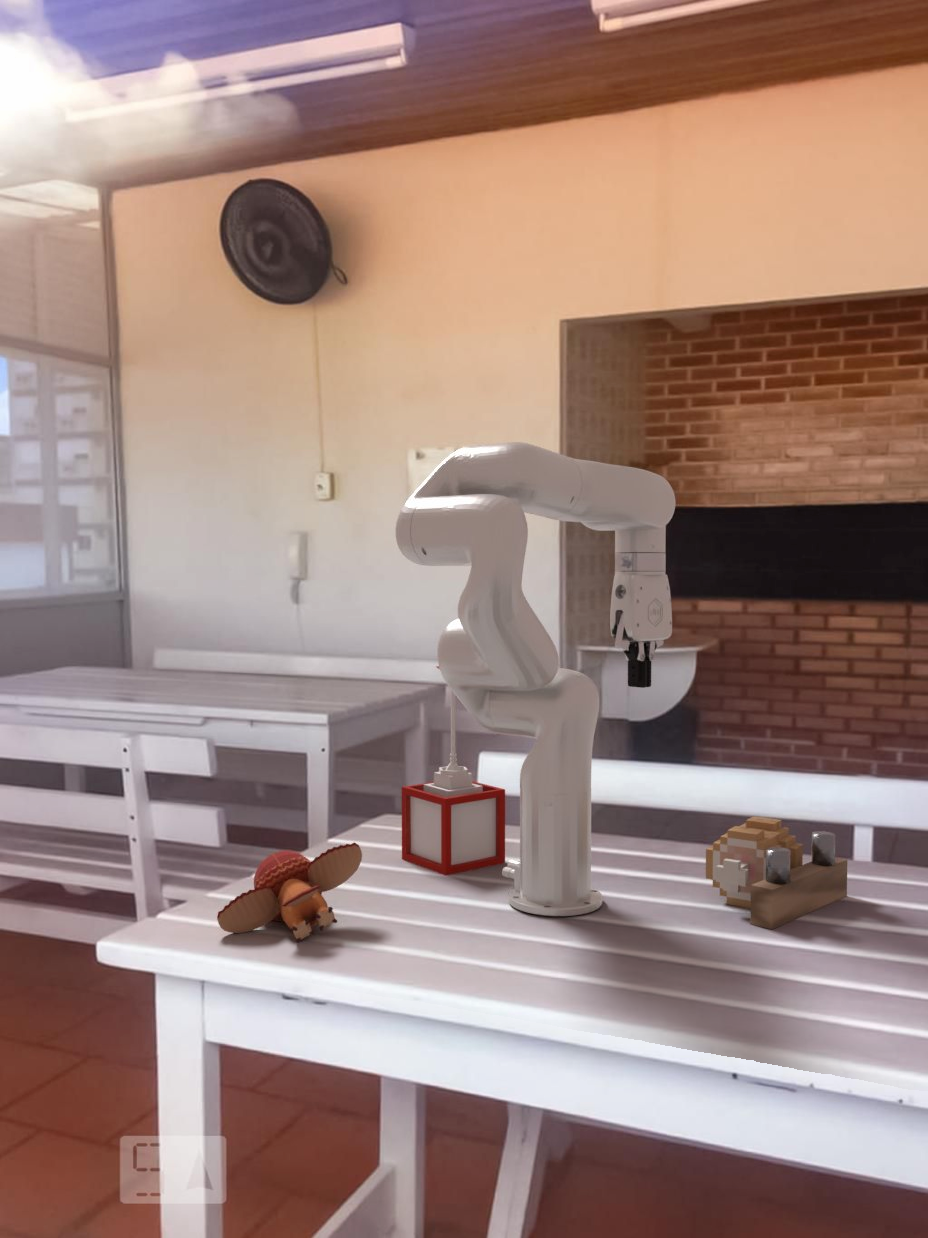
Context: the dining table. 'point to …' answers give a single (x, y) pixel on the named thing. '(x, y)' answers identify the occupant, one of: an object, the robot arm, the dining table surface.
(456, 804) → the pendant light
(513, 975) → the dining table surface
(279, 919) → the figurine
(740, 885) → the voxel meat on bone
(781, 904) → the rail
